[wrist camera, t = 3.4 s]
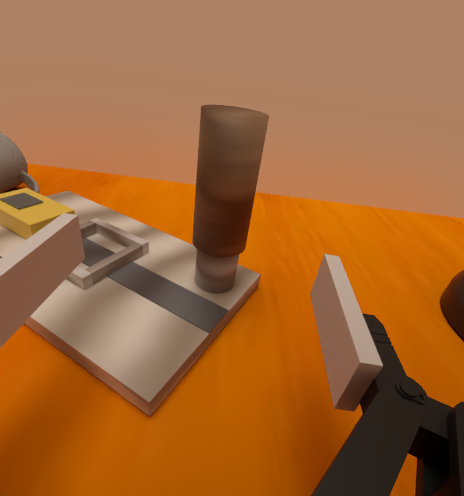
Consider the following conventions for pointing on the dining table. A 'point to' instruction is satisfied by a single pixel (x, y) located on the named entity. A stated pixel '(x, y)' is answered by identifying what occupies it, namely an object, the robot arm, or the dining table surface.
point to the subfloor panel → (132, 304)
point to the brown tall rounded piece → (225, 191)
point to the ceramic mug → (13, 167)
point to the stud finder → (28, 211)
